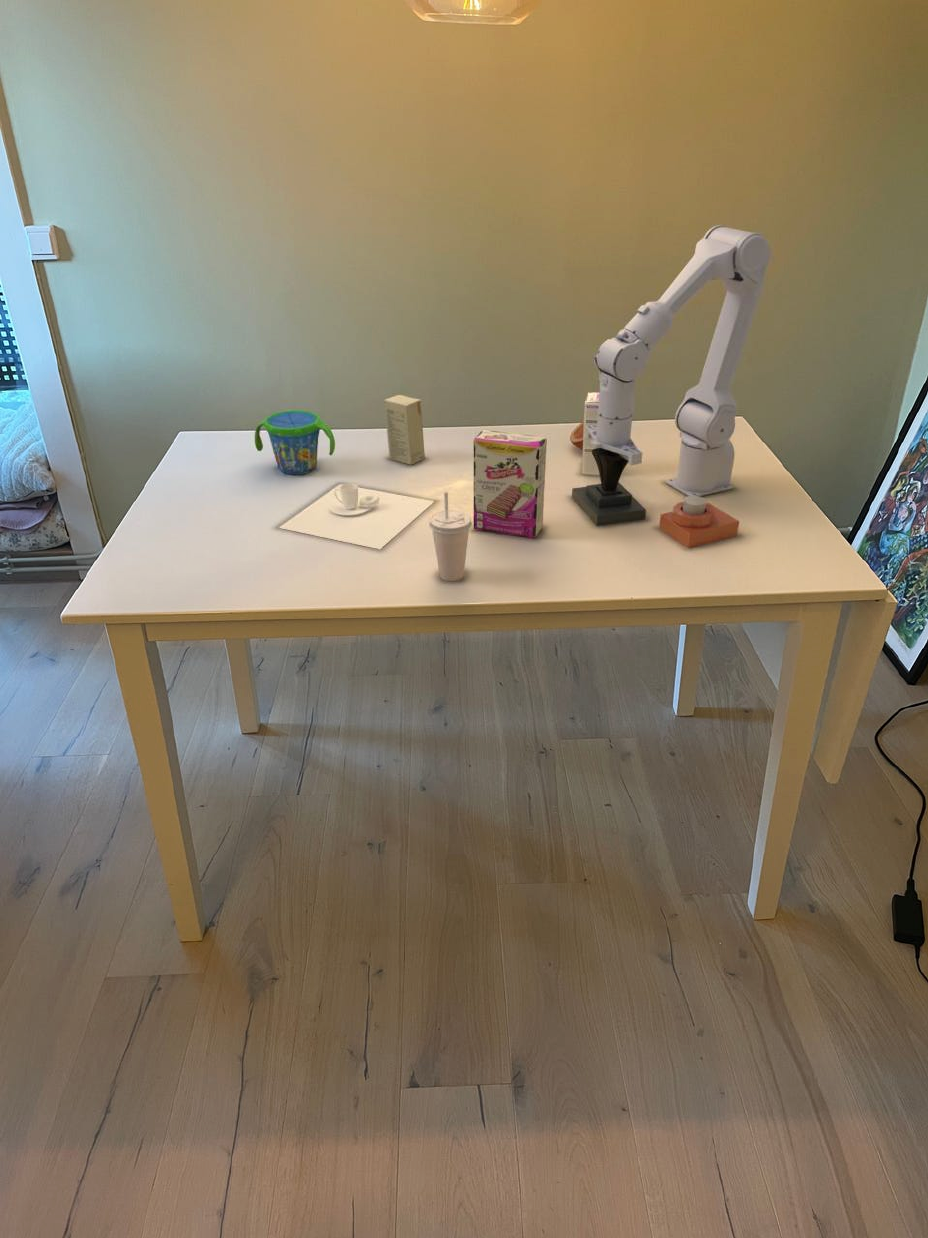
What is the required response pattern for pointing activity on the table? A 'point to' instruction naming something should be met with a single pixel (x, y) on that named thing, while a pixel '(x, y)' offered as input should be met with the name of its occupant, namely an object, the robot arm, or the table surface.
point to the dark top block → (606, 493)
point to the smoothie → (450, 540)
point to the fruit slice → (578, 436)
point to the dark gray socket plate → (608, 505)
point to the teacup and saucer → (358, 515)
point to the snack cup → (294, 439)
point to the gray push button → (694, 505)
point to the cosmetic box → (404, 429)
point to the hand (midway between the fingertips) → (608, 489)
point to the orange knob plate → (698, 525)
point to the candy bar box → (509, 483)
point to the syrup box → (590, 419)
